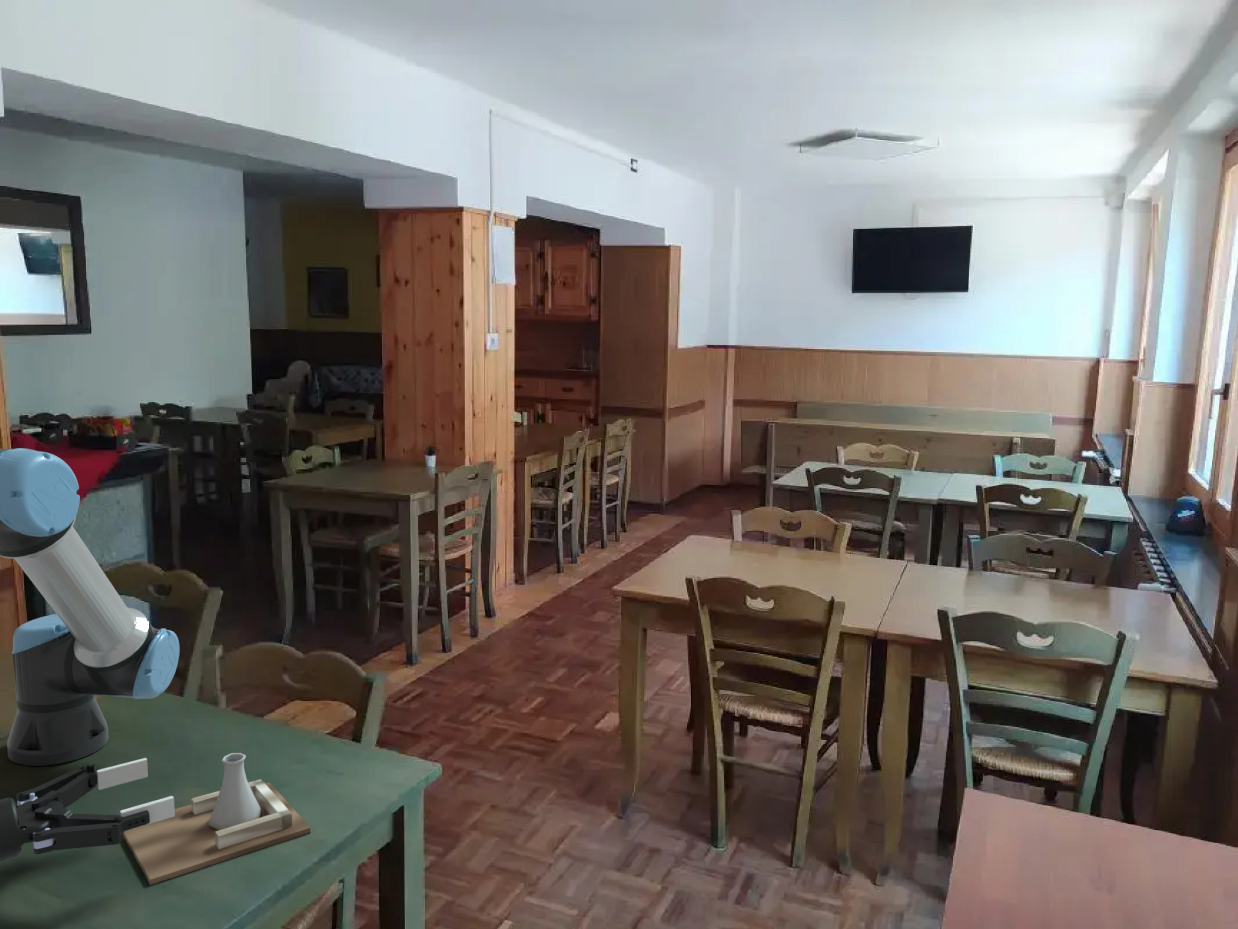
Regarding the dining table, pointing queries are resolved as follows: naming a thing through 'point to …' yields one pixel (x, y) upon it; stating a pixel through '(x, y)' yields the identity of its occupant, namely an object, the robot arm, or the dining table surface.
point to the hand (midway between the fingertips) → (160, 785)
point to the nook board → (211, 835)
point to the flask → (234, 796)
